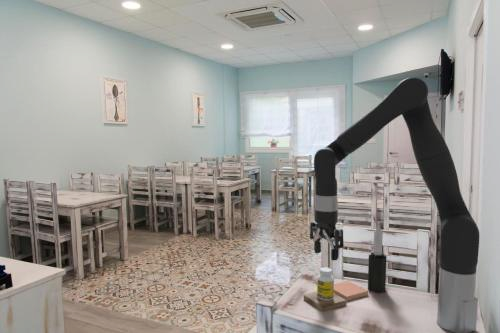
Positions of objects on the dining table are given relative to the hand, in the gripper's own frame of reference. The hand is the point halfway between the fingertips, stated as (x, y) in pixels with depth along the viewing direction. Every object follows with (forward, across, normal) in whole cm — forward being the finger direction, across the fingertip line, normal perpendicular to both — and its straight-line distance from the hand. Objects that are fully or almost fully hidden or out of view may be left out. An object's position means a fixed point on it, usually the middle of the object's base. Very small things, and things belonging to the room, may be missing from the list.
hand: (325, 256), depth 120 cm
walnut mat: (+16, 0, 0) cm, 16 cm away
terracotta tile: (+16, +2, -12) cm, 20 cm away
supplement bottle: (+14, 0, 0) cm, 15 cm away
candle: (+16, -1, -23) cm, 28 cm away
